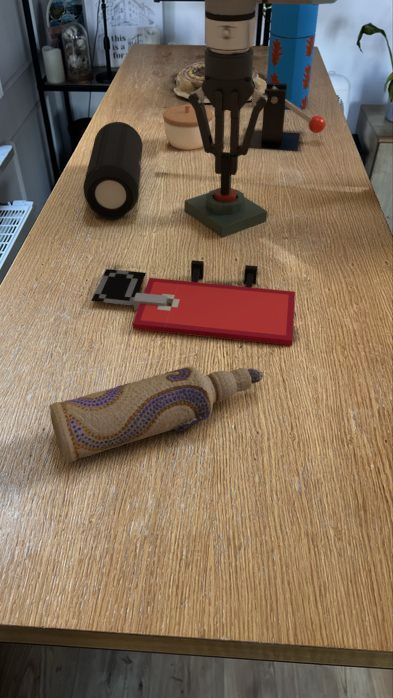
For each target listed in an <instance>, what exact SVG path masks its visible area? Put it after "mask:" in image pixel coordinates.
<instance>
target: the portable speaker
mask: <svg viewBox="0 0 393 698" xmlns="http://www.w3.org/2000/svg"><path fill="white" fill-rule="evenodd" d="M143 145H144V144H143V140H142V137H141V135H140V134H139V132H138V131H137V129H135V128H134V127H133V126H131V125H130V124H128V123H126V122H123V121H113V122H109V123H107V124H105V125H103V126H102V127H101V128H100V129H99V130H98V132H97V133H96V135H95V137H94V141H93V145H92V150H91V153H90V157H89V161H88V165H87V169H86V173H85V177H84V181H83V189H82V190H83V194H84V199H85V202H86V203H87V205H88V206H89V208H90V209H91V210H92V211H93V212H94V214H96V215H98V216H99V217H101V218H104V219H109V220H111V219H112V220H113V219H119V218H122V217H124V216H125V215H127V214H129V213H130V212H131V211H133V209H134V207H135V206H136V205H137V203H138V200H139V189H140V179H141V178H140V177H141V169H142V157H143V149H144V148H143Z"/></svg>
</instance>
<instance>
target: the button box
mask: <svg viewBox="0 0 393 698" xmlns="http://www.w3.org/2000/svg"><path fill="white" fill-rule="evenodd" d="M218 188H219V187H218ZM218 188H214V189H211V190H209V191H208V192H206V193H203V194H200V195H197V196H194V197H191V198H187V199H185V200H184V201H183V202H184V204H183V205H184V212H185V213H187V214H188V215H190V216H191V217H192V218H193V219H195V220H197V221H198V222H199V223H201V224H202V225H204V226H205V227H206V228H208V229H209V230H211V231H212V232H213V233H215V234H216V235H218V236H219V237H221V238H222V239H223V238H226V237H228V236H231V235H233V234H236V233H239V232H242V231H245V230H247V229H250V228H253V227H255V226H258V225H261V224H264V223H267V218H268V217H267V216H268V210H266V209H265V208H263V207H261V206H260V205H258V204H256V203H255V202H254V201H252V200H250V199H248V198H247V197H246V196H245V193H244V192H242V191H241V190H239V189H236V188H234V189H235V190H236V192H237V195H236V201H233V202H226V203H223V202H218V201H216V200H214V192H215V190H216V189H218Z"/></svg>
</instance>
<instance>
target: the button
mask: <svg viewBox="0 0 393 698" xmlns="http://www.w3.org/2000/svg"><path fill="white" fill-rule="evenodd" d="M215 189H216V190H215V192H214V200H216V201H218V202H223V203H226V202H233V201H236V195H237V192H236V190H237V189H236V188H233V187H231V189H230V192H229V194H220V193H221V187H218V189H217V188H215ZM235 189H236V190H235Z"/></svg>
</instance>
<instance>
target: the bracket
mask: <svg viewBox="0 0 393 698" xmlns="http://www.w3.org/2000/svg"><path fill="white" fill-rule="evenodd" d="M273 86H275V87H277V88H278V89H272V87H273ZM264 94H266V95H267V96H268V99H267V102H266V105H265V106H264V108H263V109H262V110H263V111H262V123H261V124H262V126H261V130H255V129H254V132H253V136H252V139H251V142H250V146H249V149H258V150H272V151H273V150H274V151H287V152H288V151H289V152H298V151H299V145H300V138H301V133H300V132H290V131H289V132H288V131H284V127H285V126H284V125H285V117H286V116H285V114H286V113H285V112H286V110H285V99H286V94H287V84H282V83H267V84H266V89H265V93H264Z"/></svg>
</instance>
